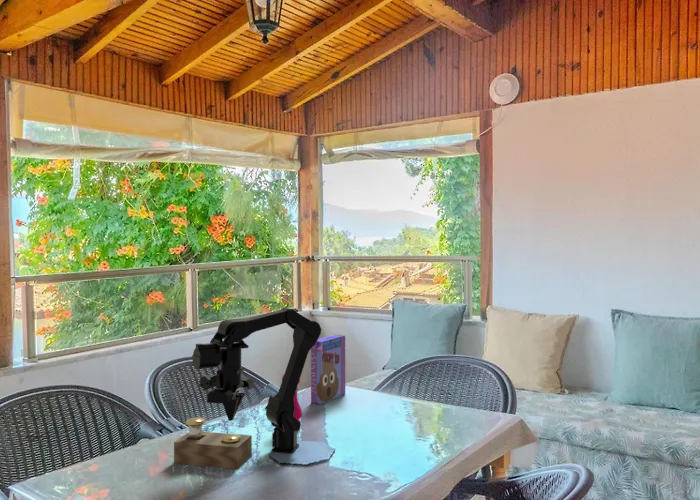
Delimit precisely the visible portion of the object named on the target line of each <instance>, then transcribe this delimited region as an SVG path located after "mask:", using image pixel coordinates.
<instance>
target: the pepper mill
mask: <svg viewBox="0 0 700 500" xmlns="http://www.w3.org/2000/svg"><path fill="white" fill-rule="evenodd" d="M283 377H284V374H283V375H282V377H281V381H282V380H283ZM300 382H301V379H300V380H299V383H298V386H297V389H296V392H295V395H294V404H295V410H294V417H295V418H296V419H297V420H298V421H299V422H300V423H301V420H300V419H301V418H302V416H303V412H302V407H301V405H300V403H299V401H298V400H299V399H298V392H299V387H300V386H299V385H300Z"/></svg>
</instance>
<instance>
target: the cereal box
mask: <svg viewBox="0 0 700 500" xmlns="http://www.w3.org/2000/svg"><path fill="white" fill-rule="evenodd" d="M310 392H311V393H310V395H311V396H310V403H311V404H314V405H320V406H323V405H325V404H327V403H329V402H331V401H333V400H336V399H338V398H340V396H341V397H343V396H345V395H346V335H344V334H333V335H328V336H326V337H325V336H324V337H321V338H318V340H317V342H316V344H315V345H314V346H313V347H312V348H311V349H310ZM344 394H345V395H344ZM342 395H343V396H342Z"/></svg>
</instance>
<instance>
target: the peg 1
mask: <svg viewBox="0 0 700 500" xmlns="http://www.w3.org/2000/svg"><path fill="white" fill-rule="evenodd" d="M205 423H206V419H205V418H204V417H199V416H198V417H190V418H188V419H186V420H185V424H186V426H188V433H189V440H200V439H202V432H203V425H204V424H205Z"/></svg>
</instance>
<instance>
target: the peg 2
mask: <svg viewBox="0 0 700 500" xmlns="http://www.w3.org/2000/svg"><path fill="white" fill-rule="evenodd" d="M229 434H230V435H225V436H223V437H222V442H224V443H237V442H239V441H240V440H241V436H240V435H241V434H239V435H236V434H237V433H235V434H234V433H229Z"/></svg>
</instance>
